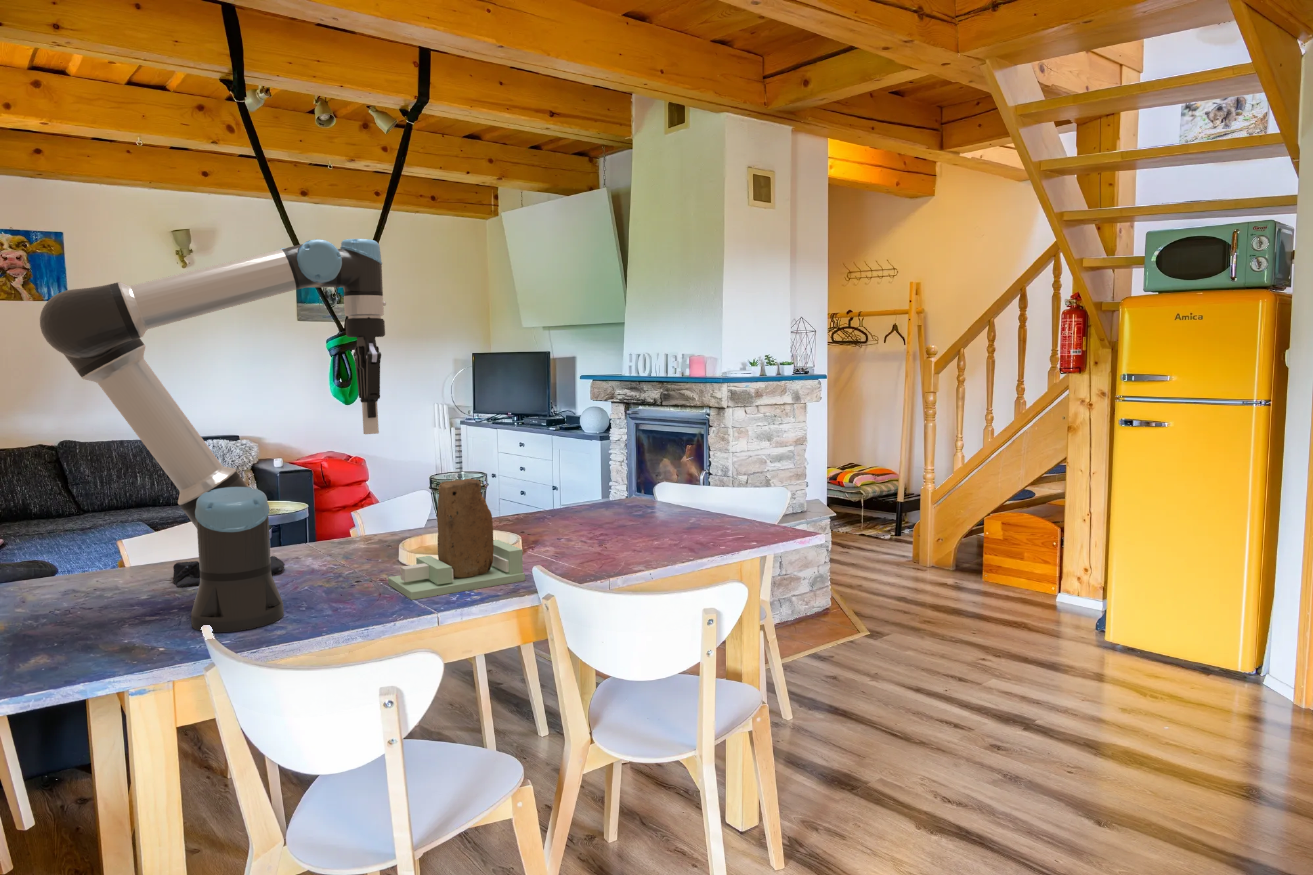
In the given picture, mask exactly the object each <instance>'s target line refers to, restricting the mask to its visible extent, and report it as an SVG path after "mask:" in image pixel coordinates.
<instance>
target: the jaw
mask: <svg viewBox="0 0 1313 875" xmlns="http://www.w3.org/2000/svg"><path fill="white" fill-rule="evenodd" d="M415 563H416V564H411V565H405V566H404V565H403V566H400V569H399V570H400V575H401V580H403V581H404V582H409V581H415V580H421V579H429V580H431V581H432V582H434V583H436V584H438V585H439V584H445V583H451V582H452V581H453V569H452V567H451V566H449V565H447V564H445V563H443V562H441V561H440V560H439V559H438V558H436V557H433V556H432V555H424V556H417V557H416V558H415Z"/></svg>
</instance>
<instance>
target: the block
mask: <svg viewBox="0 0 1313 875" xmlns="http://www.w3.org/2000/svg"><path fill="white" fill-rule="evenodd" d="M481 490H482V484H481V482H480V480H479V479H475V478H474V479H473V478H465V479H453V480H445V481H443V482H441V483H440V484H439V485H438V490H437V491H438V498H437V559H438V560H440V561H441V562H443V563H445V564H447V565H449V566H451V567H452V569H453V578H466V577H473V576H475V575H480V574H484V573H487V572H488V571H489V570H490V569H491V566H492V563H493V550H494V548H493V540H494V525H493V515H492V511H491V510H490V509H489V506H488V504H487V501H486V499H485V497H483V495H482V491H481Z"/></svg>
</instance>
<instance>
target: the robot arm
mask: <svg viewBox="0 0 1313 875" xmlns="http://www.w3.org/2000/svg"><path fill="white" fill-rule="evenodd" d="M340 244H341V245H340V248H337V247H336V246H335V244H333V243H332V242H330V241H328V240H325V239H319V238H318V239H317V238H315V239H311V240H310V239H309V240H307V241H305V242H304V243H302V244H301V243H300V244H297V245H292V246H289V247H282V248H279V249H277V250H272V251H268V252H264V253H260V254H255V255H251V256H248V257H243V258H239V259H235V260H231V261H226V262H223V263H218V264H214V265H210V266H206V267H202V268H197V269H194V270H190V271H186V272H181V273H178V274H177V273H176V274H174V275H170V276H166V277H161V278H157V279H153V280H150V281H145V282H140V283H137V284H136V283H135V284H133V285H128V284H125V283H123V282H121V281H117V282H114V283H110V284H109V283H108V284H104V285H98V286H93V287H85V288H75V289H74V288H73V289H67V290H64V291H61V292H58V293H56V294H55V295H53V296H51V297H50V299H48V301H46V303H45V304H44V305H43V307H42V310H41V312H40V316H39V327H40V331H41V334H42V336H43V337H44V338H43V339H45V341H46V342H47V343H48V344H49V345H50V346H51V347H52V348H53V349H55V350H56V351H57V352H59V353H60V354H63V355H64V357H65V358H66V360H67V361H68V362H69V364H71V366H72V367H73V368H74V370H75V371H76V372H77V374H78V375H79V376H80V378H81V379H83V380H86V381H90V382H93V383H96V384H97V385H98V386H99V387H100V388H101V389H102V391H103V392H104V393H105V395H106V396H107V398H109V400H110V401H111V403H112V404H113V406H114V407H115V408H116V409H117V411H118V412H119V413H120V414H121V416H122V418H123V419H124V420H125V421H126V423H127V424H128V425H129V427H131V429H132V431H133V432H134V433H135V434H136V435H137V437H138V438H139V439H140V442H142V444H143V445H144V446H145V448H146V449H147V450H148V451H149V453H150V454H151V455H152V457H153V459H155V461H156V462H157V463H158V465H159V466H160V468H162V470H163V471H164V472H165V474H166V475H167V476H168V477H169V479H170V481H171V482H172V483H173V485H174V486H175V487H176V489H178V491H179V495H178V500H177V504H178V506H179V507H180V508H181V509H182V511H183V512H184V513H185V515H186V516H187V517H188V519H189V520H190V522H192V524H193V525H194V526H195V528H196V532H197V548H198V562H199V569H200V585H198V588H197V592H196V596H195V599H194V602H193V605H192V610H191V611H190V612H191V613H190V618H191V623H190V624H191V627H192V628H193V629H194V630H197V631H200V629H201V627H202V626H203V625H210V626H211V627H212V629H213V631H214V632H213V633H228V632H229V633H230V632H239V631H240V632H241V631H246V629H247V630H252V629H256V627H257V628H261V627H263V626H267V625H270V624H273V623H274V622H276V621H279V620H281V619H282V618H283V617H284V615H285V614H284V612H285V611H284V601H283V599H282V596H281V594H280V592H279V589H278V587H277V584H276V582H275V579H274V577H273V575H272V574H271V558H270V557H271V543H270V522H269V521H270V520H269V514H270V504H269V503H268V498H267V495H266V494H265V493H264V492H263V491H262V490H261V489H257V488H252V487H249V486H248V485H247V483H246V482H245V480H244V479H243V478H242V477H241V475H240V473H238V471H237V470H236V468H233V467H229V466H224V465H222V463H221V462H220V461H219V459H218V458H217V456H216V455H215V454H214V453H213V451H212V450H211V448H210V447H209V446H208V445H207V443H206V441H205V440H204V439H203V437H202V436H201V434H199V432H198V431H197V430H196V428H195V427H194V426H193V424H192V423H191V421H190V419H189V418H188V417H187V416H186V414H185V413H184V412H183V410H182V409H181V408H180V406H179V405H178V403H177V402H176V400H175V399H174V398H173V397H172V395H171V393H170V392H169V391H168V390H167V389H166V386H164V385H163V383H162V381H161V380H160V379H159V377H158V376H157V375H156V374H155V372H154V371H153V369H152V368H151V367H150V365H149V364H148V363H147V361H146V359H145V357H144V355H145V351H146V345H145V344H144V342H143V340H142V339H141V338H144V336H145V333H147V331H148V330H150V329H154V328H159V327H162V326H165V325H169V324H173V323H177V322H181V321H184V320H187V319H192V318H196V317H199V316H203V315H206V314H211V313H214V312H217V311H220V310H226V309H229V308H233V307H236V306H240V305H243V304H248V303H252V302H255V301H259V300H263V299H267V298H270V297H274V296H277V295H281V294H285V293H289V292H293V291H297V290H300V289H304V288H338V289H339V288H343V307H344V308H343V309H344V315H345V316H346V317H347V318H346V320H345V335H346V337H347V338H356V346H355V347H354V352H353V353H352V354H353V359H354V364H355V374H356V382H357V392H358V394H357V395H358V398H359V399H360V400H359V401H360V403H361V407H362V408H361V409H362V410H361V411H362V428H363V429H362V430H363V431H362V432H363V435H374V434H379V433H380V431H379V415H378V414H379V411H378V401H379V399H380V398H381V358H382V353H381V351H380V349H379V346H378V345H377V341H376V340H377V339H376V338H383V337H385V335H386V324H385V319H384V318H382V316H384V314H385V313H384V312H385V311H384V306H386V305H387V302H386V301H385V300H384V293H383V292H384V291H383V289H384V287H383V269H382V267H383V266H382V265H383V262H382V255H381V247H380V244H379V243H378V242H377V241H376V240H373V239H370V238H369V239H366V238H347V239H343V240H342V241H341V243H340Z"/></svg>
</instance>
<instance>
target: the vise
mask: <svg viewBox="0 0 1313 875" xmlns="http://www.w3.org/2000/svg"><path fill="white" fill-rule="evenodd" d="M493 548H494V550H493V563H492V566H491V569H490V570H489V571H488V572H487V573H484V574H480V575H475V576H473V577H466V578H453V581H452V582H451V583H445V584H439V585H438V584H436V583H434V582H432V581H431V580H429V579H421V580H415V581H409V582H404V581H403V580H401V574H400V575H395V576H389V577H387V582H388V583H387V584H388V586H390V587H391V588H393V589H394V590H396V591H397V592H399V593H401V594H403V595H404V596H405V597H407V599H409V600H412V601H413V600H419V599H425V598H430V597H431V598H432V597H436V596H437V595H438V596H443V595H447V594H455V593H461V592H466V591H473V590H477V589H482V588H483V589H485V588H490V587H495V586H500V585H501V586H502V585H506V584H513V583H514V584H515V583H520V582H525V581H526V573H524V566H523V565H524V564H523V562H524V561H523V548H521V547H518V546H515V545H513V544H510V543H508V542H505V541H503V540H500V539H493Z"/></svg>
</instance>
